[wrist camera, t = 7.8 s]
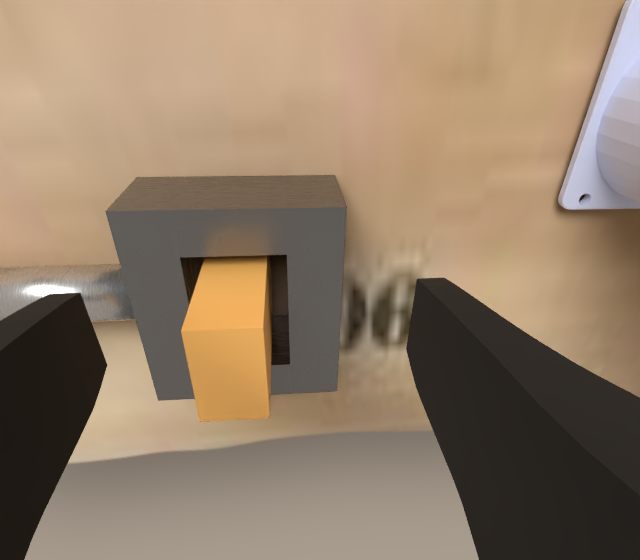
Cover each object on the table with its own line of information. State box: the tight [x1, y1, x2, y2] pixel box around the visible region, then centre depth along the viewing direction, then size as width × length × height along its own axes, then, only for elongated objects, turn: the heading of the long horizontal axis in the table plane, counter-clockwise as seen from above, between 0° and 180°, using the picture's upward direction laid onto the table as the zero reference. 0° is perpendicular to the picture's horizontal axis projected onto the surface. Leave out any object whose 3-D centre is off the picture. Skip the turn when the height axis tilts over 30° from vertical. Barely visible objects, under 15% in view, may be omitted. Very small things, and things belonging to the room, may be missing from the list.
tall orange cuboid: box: [181, 255, 273, 422], centre depth 16 cm, size 2×4×7 cm, turn 179°
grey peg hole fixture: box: [0, 175, 346, 401], centre depth 17 cm, size 16×9×4 cm, turn 89°
